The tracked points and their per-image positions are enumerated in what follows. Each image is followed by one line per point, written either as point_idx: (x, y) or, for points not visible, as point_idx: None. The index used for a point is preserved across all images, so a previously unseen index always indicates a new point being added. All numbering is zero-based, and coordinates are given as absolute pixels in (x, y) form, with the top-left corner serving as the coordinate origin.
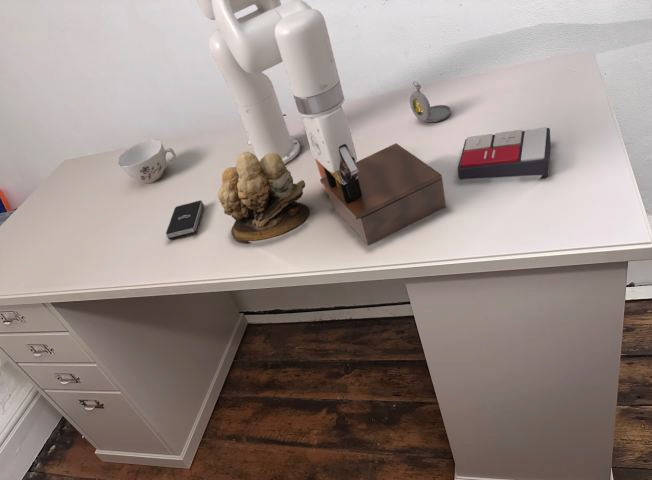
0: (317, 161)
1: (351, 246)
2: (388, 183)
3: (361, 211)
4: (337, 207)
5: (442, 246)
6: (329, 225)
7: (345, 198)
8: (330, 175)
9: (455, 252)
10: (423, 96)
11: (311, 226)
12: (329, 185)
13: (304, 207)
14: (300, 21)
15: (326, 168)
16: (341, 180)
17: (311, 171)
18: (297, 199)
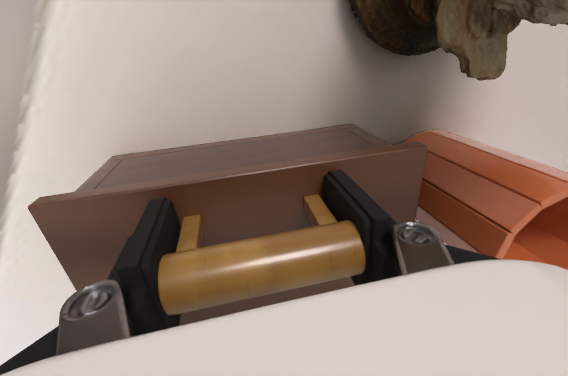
0: (533, 174)
1: (153, 115)
2: None
3: (58, 235)
4: (315, 141)
5: (49, 296)
6: (295, 89)
7: (143, 215)
8: (347, 213)
9: (14, 311)
10: None
11: (330, 33)
12: (336, 172)
13: (415, 41)
14: None
15: (110, 353)
16: (111, 302)
17: (551, 125)
18: (434, 14)
